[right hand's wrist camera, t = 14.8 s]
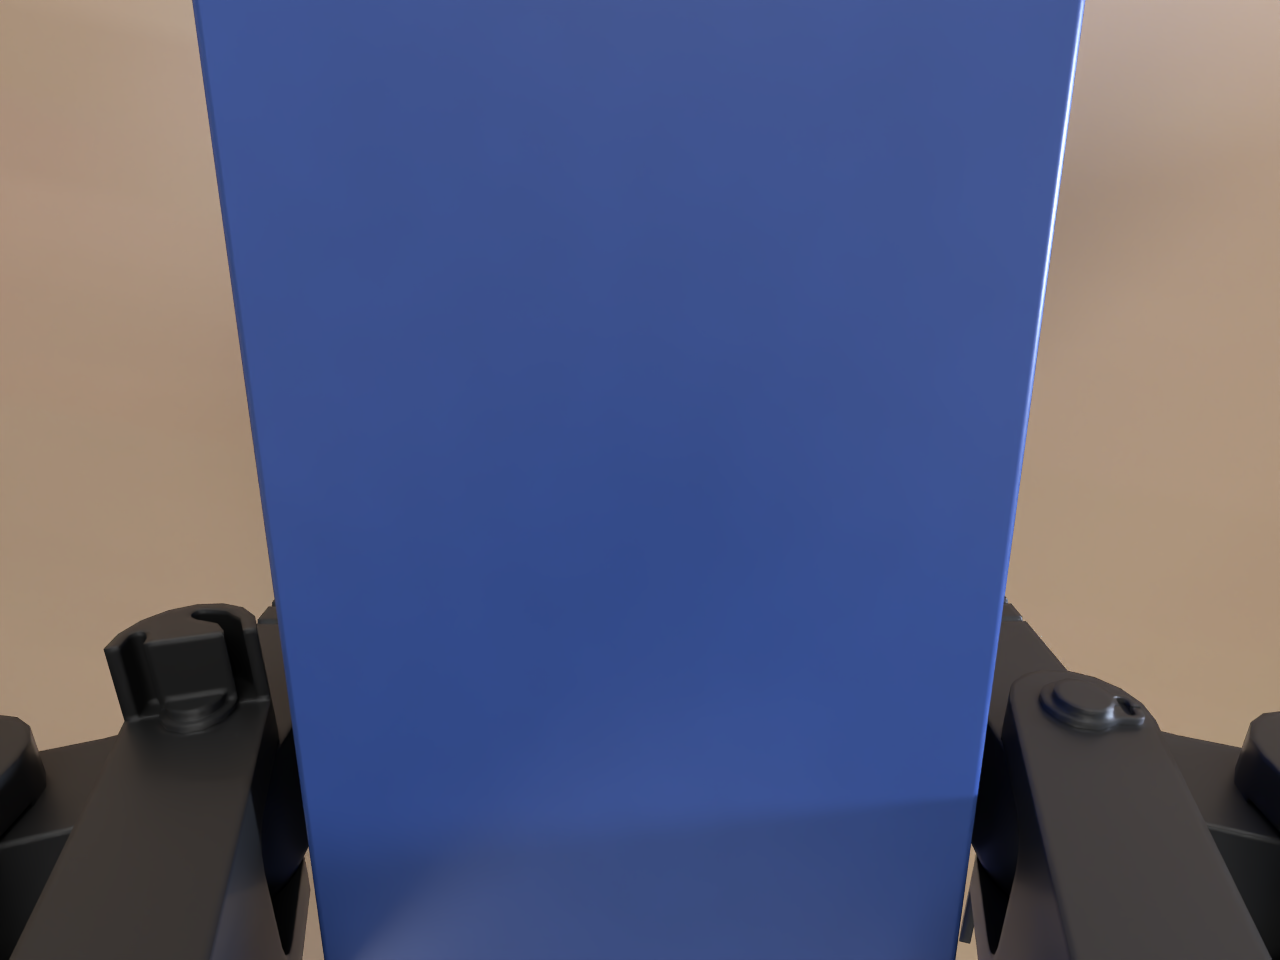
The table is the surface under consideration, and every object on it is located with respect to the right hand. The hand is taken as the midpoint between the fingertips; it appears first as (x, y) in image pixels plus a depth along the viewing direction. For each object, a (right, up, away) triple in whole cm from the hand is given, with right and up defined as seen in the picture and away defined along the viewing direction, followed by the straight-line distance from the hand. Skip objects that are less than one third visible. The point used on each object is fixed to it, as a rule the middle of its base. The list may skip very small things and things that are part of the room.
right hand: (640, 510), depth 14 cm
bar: (0, +13, -3) cm, 14 cm away
